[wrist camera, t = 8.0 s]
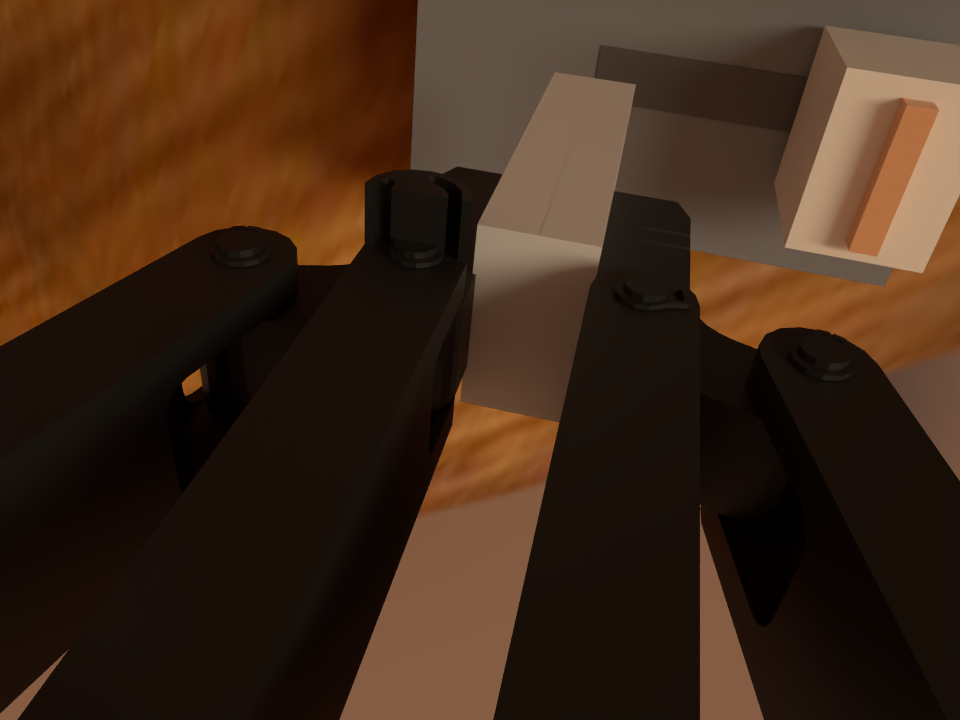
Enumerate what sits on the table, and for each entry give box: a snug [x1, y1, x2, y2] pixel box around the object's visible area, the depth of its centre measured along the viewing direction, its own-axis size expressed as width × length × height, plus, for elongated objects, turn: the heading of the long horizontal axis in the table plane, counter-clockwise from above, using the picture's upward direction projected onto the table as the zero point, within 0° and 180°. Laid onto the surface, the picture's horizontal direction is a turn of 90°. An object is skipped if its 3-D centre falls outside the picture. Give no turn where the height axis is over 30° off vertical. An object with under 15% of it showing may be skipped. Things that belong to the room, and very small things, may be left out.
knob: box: [774, 25, 960, 273], centre depth 18 cm, size 3×4×4 cm
